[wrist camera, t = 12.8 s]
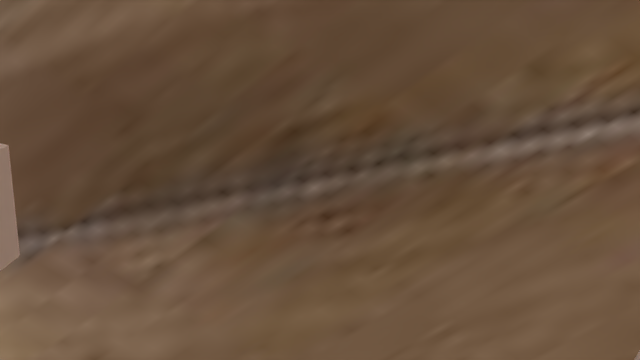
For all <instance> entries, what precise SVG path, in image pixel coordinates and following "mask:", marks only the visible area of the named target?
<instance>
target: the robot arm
mask: <svg viewBox="0 0 640 360" xmlns="http://www.w3.org/2000/svg"><path fill="white" fill-rule="evenodd" d="M19 256H20V252H19V242H18V232H17V223H16V213H15V203H14V194H13V184H12V174H11V164H10V155H9V145H5V144H1V143H0V271H1V270H2V269H3V268H5V267H6V266H7V265H9V264H10V263H11V262H12V261H14V260H15V259H16V258H17V257H19ZM635 360H640V351H639V353H638V354H637V356H636V358H635Z"/></svg>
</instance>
